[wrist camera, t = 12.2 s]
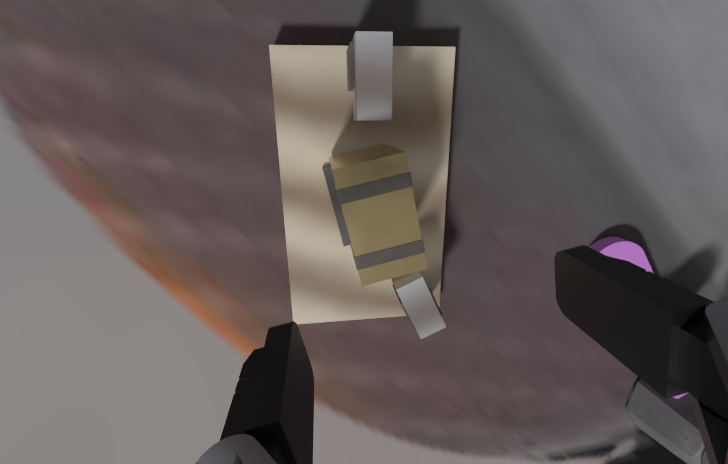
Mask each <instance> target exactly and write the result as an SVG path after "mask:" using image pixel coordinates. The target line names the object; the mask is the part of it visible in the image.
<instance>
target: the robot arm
mask: <svg viewBox="0 0 728 464" xmlns="http://www.w3.org/2000/svg"><path fill="white" fill-rule="evenodd" d="M554 262H555V284H556V299H557V303H558V305H559V308H560V310H561V311H562V313H563V314H564V315H565V316H566V317H567V318H568V319H569V320H570V321H572V322H573V323H574V324H575V325H576V326H578V327H579V328H580V329H581V330H583V331H584V332H585V333H586V334H587V335H589V336H590V337H591V338H592V339H593V340H595V341H596V342H597V343H598V344H600V345H601V346H602V347H603V348H604V349H606V350H607V351H608V352H609V353H610V354H612V355H613V356H614V357H615V358H617V359H618V360H619V361H620V362H621V363H623V364H624V365H625V366H626V367H627V368H629V369H630V370H631V371H632V372H634V373H635V374H636V375H637V376H638V377H640V378H641V379H642V380H643V381H644V382H646V383H647V384H648V385H649V386H651V387H652V388H653V389H654V390H655V391H657V392H658V393H659V394H660V395H661V396H663V397H664V398H665V399H667V398H671V397H674V396H678V395H681V394H685V393H689V394H691V395H692V396H693V397H695V398H694V406H693V408H694V413H695V416H696V420H697V423H698V426H699V430H700V433H701V437H702V440H703V443H704V447H705V450H706V453H707V457H708V460H709V464H728V300H722V301H717V302H713V301H711V300H709V299H707V298H704V297H702V296H700V295H698V294H696V293H694V292H692V291H690V290H688V289H686V288H683V287H681V286H679V285H677V284H675V283H673V282H671V281H669V280H667V279H665V278H663V279H661V278H660V276H658V275H656V274H654V273H652V272H650V271H648V272H647V271H646V269H644V268H641V267H639V266H637V265H635V264H633V263H631V262H629V261H625V260H621V259H617V258H613V257H609V256H606V255H604V254H602V253H600V252H598V251H596V250H594V249H592V248H590V247H588V246H584V245H582V246H578V247H574V248H571V249H567V250H563V251H559V252H557V253H556V255H555V260H554ZM313 417H314V377H313V371H312V367H311V363H310V360H309V357H308V354H307V352H306V349H305V346H304V343H303V340H302V337H301V334H300V331H299V329H298V326H297V324H296V322H294V321H293V322H290V323H286V324H282V325H278V326H275V327H271V328H269V330H268V333H267V337H266V342H265V346H264V347H263V348H259V349H256V350H254V351H253V352H252V353H251V355H250V356H249V357H248V359H247V360H246V361H245V363H244V364H243V367H242V370H241V373H240V376H239V381H238V383H237V386H236V389H235V394H234V396H233V399H232V403H231V406H230V409H229V412H228V416H227V419H226V422H225V426H224V429H223V432H222V435H221V439H220V441H219V442H217V443H216V444H214V445H213V446H212V447H210V448H209V449H208V450H207V451H206V452H205V453H204V454H203V455H202V456H201V457H200V458H199V460H198V461H197V462H196V464H312V463H313Z"/></svg>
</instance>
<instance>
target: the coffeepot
mask: <svg viewBox="0 0 728 464" xmlns="http://www.w3.org/2000/svg"><path fill="white" fill-rule="evenodd" d="M694 398H695V397H693V396H692V395H691V394H689V393H687V394H685V395H684V396H682V397H681V398H679V399H675V398H673V397H671V398H667V399H665V398H664V397H663V396H661V395H660V394H659V393H658V392H657V391H655V390H654V389H653V388H652V387H651V386H649V385H648V384H647V383H646V382H644V381H643V380H642V379H641V378H640V379H639V380H638V381H637V382H636V383H635V385H634V386H633V388H632V389H631V391H630V393H629V396H628V399H627V407H626V410H627V411H628V413H629V415H630V417H631V418H632V419H633V420H634V422H635V423H636V425H637V426H638V428H640V429H641V430H643V431H644V432H645V433H647V434H648V435H649V436H651V437H652V438H653V439H655V440H656V441H657V442H659V443H660V444H661V445H663V446H664V447H666V448H667V449H668V450H670V451H671V452H672V453H674V454H675V455H676V456H678V457H679V458H680V459H682V460H683V461H684V462H686V463H687V464H709V460H708V457H707V453H706V450H705V447H704V443H703V440H702V437H701V433H700V430H699V426H698V423H697V420H696V416H695V413H694V408H693V406H694Z"/></svg>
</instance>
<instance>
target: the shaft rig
mask: <svg viewBox="0 0 728 464" xmlns="http://www.w3.org/2000/svg"><path fill="white" fill-rule="evenodd" d="M455 49H456V47H440V46H393V32H379V31H355V34H354V36H353V39H352V41H350V44H349V46H333V45H269V50H270V61H271V73H272V84H273V96H274V107H275V119H276V130H277V142H278V153H279V165H280V176H281V188H282V199H283V211H284V222H285V234H286V245H287V257H288V268H289V280H290V291H291V302H292V314H293V321H294V322H296V324H306V323H319V322H332V321H345V320H358V319H371V318H384V317H397V316H407V318H408V320H409V322H410V324H411V326H412V328H413V329H415V328H416V330H417V332H418V334H419V336H420V338H421V339H423V338H425V337H427V336H429V335H431V334H433V333H435V332H437V331H439V330H441V329H443V328H445V327H446V325H445V323H444V321H443V319H442V317H441V316H442V313H441V311H440V308H439V305H440V289H441V273H442V257H443V241H444V225H445V209H446V193H447V177H448V161H449V145H450V129H451V113H452V97H453V81H454V65H455ZM381 144H388V145H390V146H393V147H395V148H398V149H400V150H403V151H405V152H406V156H407V162H408V167H409V171H410V172H411V177H412V183H413V186H412V189H413V194H414V200H415V205H416V210H417V216H418V221H419V227H420V232H421V237H422V239H423V242H424V248H425V253H424V254H425V259H426V264H427V269H426V270H422V271H418V272H414V273H411V274H407V275H403V276H399V277H395V278H392V279H388V280H384V281H380V282H377V283H373V284H369V285H365V286H362V284H361V281H360V277H359V273H358V270H357V269H356V265H355V261H354V257H353V253H352V249H351V245H350V241H349V237H348V232H347V228H346V223H345V219H344V215H343V211H342V207H341V205H340V203H339V200H338V196H337V192H336V188H335V183H334V179H333V175H332V169H331V164H330V160H329V157H333V156H337V155H341V154H345V153H349V152H353V151H357V150H361V149H365V148H369V147H373V146H377V145H381Z"/></svg>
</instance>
